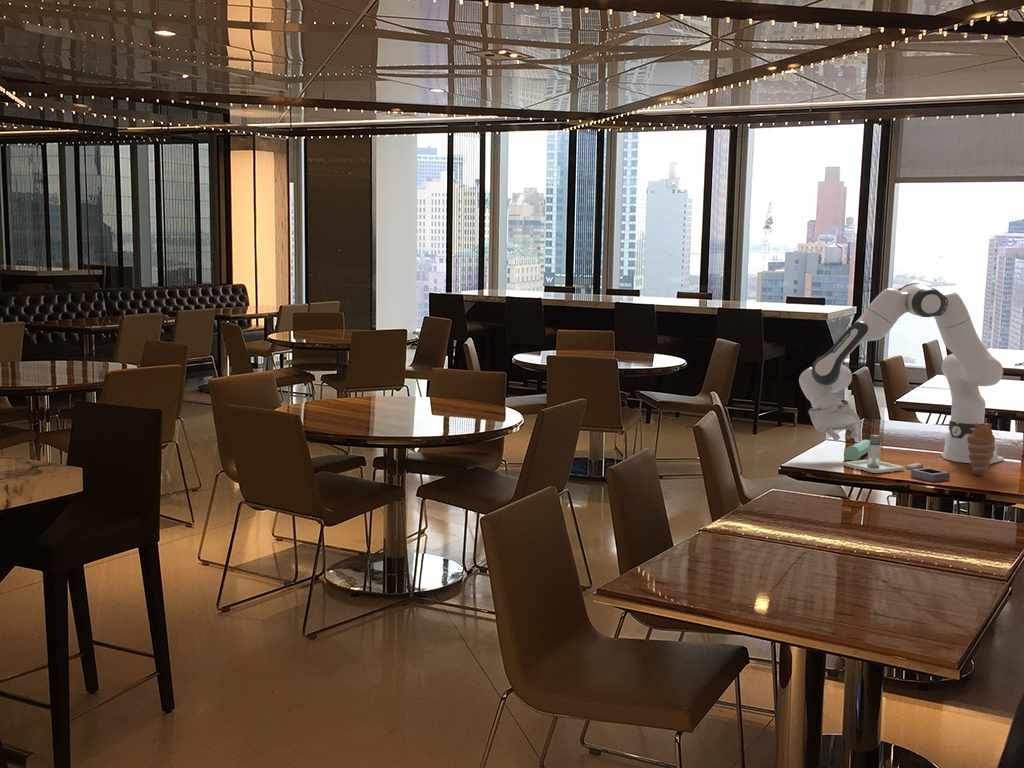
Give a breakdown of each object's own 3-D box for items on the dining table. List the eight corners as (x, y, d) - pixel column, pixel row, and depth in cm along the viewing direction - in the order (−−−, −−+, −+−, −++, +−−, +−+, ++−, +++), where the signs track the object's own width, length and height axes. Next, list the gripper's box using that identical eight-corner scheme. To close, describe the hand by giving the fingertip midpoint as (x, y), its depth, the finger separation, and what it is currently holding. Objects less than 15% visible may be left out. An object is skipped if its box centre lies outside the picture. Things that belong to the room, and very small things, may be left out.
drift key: (915, 467, 341) (915, 462, 341) (922, 468, 340) (922, 463, 339) (905, 470, 336) (906, 465, 336) (913, 471, 334) (913, 466, 334)
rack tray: (870, 463, 344) (870, 459, 344) (903, 470, 332) (903, 466, 332) (843, 466, 337) (843, 462, 337) (875, 474, 325) (876, 470, 325)
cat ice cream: (987, 473, 331) (991, 421, 328) (997, 478, 323) (1002, 425, 321) (960, 472, 331) (965, 421, 329) (970, 477, 323) (975, 424, 321)
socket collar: (927, 474, 326) (927, 467, 326) (949, 479, 319) (949, 472, 319) (910, 477, 322) (911, 469, 322) (932, 482, 315) (933, 474, 315)
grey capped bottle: (872, 465, 337) (874, 434, 336) (882, 467, 334) (884, 436, 332) (864, 466, 335) (866, 435, 334) (874, 468, 332) (876, 437, 330)
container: (863, 434, 369) (847, 442, 348) (878, 442, 366) (863, 450, 345) (856, 448, 371) (840, 457, 350) (870, 455, 368) (855, 465, 347)
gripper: (811, 403, 344) (831, 435, 337) (851, 400, 354) (871, 431, 347) (801, 414, 349) (820, 445, 341) (841, 411, 359) (860, 441, 351)
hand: (846, 438), depth 344 cm, fingers open, 8 cm apart
